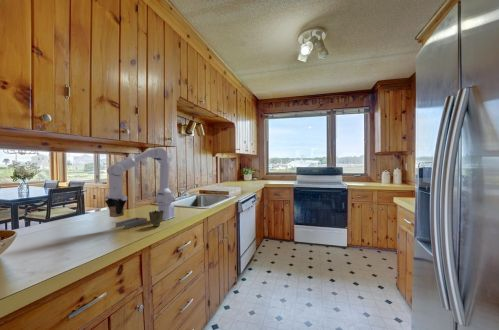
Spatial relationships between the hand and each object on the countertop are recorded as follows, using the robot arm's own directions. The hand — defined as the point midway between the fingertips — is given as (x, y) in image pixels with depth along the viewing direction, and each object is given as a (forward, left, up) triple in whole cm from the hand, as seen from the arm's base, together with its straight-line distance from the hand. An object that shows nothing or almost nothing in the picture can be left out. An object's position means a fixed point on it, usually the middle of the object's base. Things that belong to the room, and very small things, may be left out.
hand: (116, 213), depth 114 cm
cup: (-12, +15, -9) cm, 21 cm away
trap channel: (-9, 0, -8) cm, 12 cm away
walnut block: (0, 0, -1) cm, 1 cm away
